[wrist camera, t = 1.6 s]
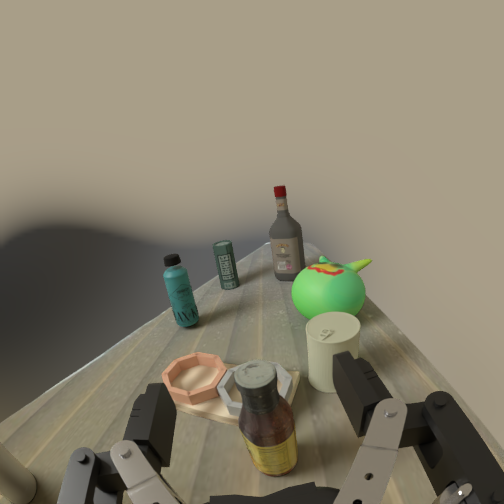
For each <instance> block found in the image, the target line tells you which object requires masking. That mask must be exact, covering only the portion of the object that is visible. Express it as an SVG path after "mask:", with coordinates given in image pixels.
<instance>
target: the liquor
mask: <svg viewBox="0 0 504 504" xmlns="http://www.w3.org/2000/svg"><path fill="white" fill-rule="evenodd" d="M274 193H275V197H276V204H277V212H278V214H277V219H276V220H275V222H274V223H273V225H272V227H271V228H270V231H269V235H270V242H271V249H272V256H273V263H274V270H275V276H276V278H277V279H279V280H280V281H294V280H295V278H296V277H297V275H298V274H299V273H300V272H301V271H302V270H303V269H305V258H304V249H303V239H302V230H301V226H300V224H299V223H298V222H296V221H295V220H294V219H293V218H292V217H291V216H290V214H289V212H288V205H287V199H286V188H285V186H277V187H274Z"/></svg>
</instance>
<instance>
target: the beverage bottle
mask: <svg viewBox="0 0 504 504" xmlns="http://www.w3.org/2000/svg"><path fill="white" fill-rule="evenodd" d="M180 262H181V260H180V257H179V255H178V254H171V255H168V256H165V257H164V264H165V266H173V267H170V268H168V269H167V270H166V271H165V273H164V275H163V277H164V280H165V283H166V287H167V291H168V295H169V299H170V302H171V305H172V306H171V307H172V309H173V310H172V311H173V312H174V316H175V319H176V320H175V321H176V322H177V324H178V325H179V326H182V327H186V326H191V325H193V324H195V323H196V322H197V321H198V319H199V316H198V315H199V314H198V310H197V306H196V305H195V301H194V297H193V293H192V289H191V286H190V282H189V278H188V273H187V269H186V268H184V267H182V266H174V265H177V264H179V263H180Z"/></svg>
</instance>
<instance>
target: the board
mask: <svg viewBox="0 0 504 504" xmlns="http://www.w3.org/2000/svg"><path fill="white" fill-rule="evenodd" d="M223 364H224V366H225V367H226V369H227V371H228V369H231V368H233V367H236V366H239V365H233V364H226V363H223ZM218 372H219V371H218V370H217V368H214V367H208V366H203V365H198V366H195V367H192V368H189V369H186V370H183V371H181V372H180V373H179V375H178V376H177V377H176V378H175V379H174V381H173V382H172V383H171V384H172V387H175V388H178V389H182V390H186V391H192V390H195V389H198V388H201V387H204V386H207V385H210V384H211V383H212V381H213V380H214V378H215V377H216V375H217V374H218ZM287 372H288V373H289V374H290V376H291V377H292V381H293V389H292V392H291V395H290V397H289V400H288V403H289V405H290V406H291V404H292V401H293V398H294V395H295V392H296V389H297V386H298V383H299V380H300V374H299V372H297V371H287ZM282 385H283V384H282V383H281V382H280V381H279V380H278V381H277V389H278V392H280V390H281V387H282ZM228 395H229V397H230V399H231V400H232V401H234V402H239V403H242V397H241V394H240V392H239V391H238V389H237V387H236V384H235V383H234V385H233V387H232V388H231V390H230V392H229V393H228ZM173 401H174V403H175V406H176V410H179V411H182V412H186V413H189V414H192V415H196V416H199V417H203V418H207V419H210V420H214V421H218V422H222V423H227V424H231V425H235V426H239V424H238V418H239V417H238V416H233V415H230V414H229V412H228V411H227V409H226V407H225V405H224V403H223V402H222V400H221V398H220V396H218V397H216V398H213V399H210V400H207V401H205V402H202V403H199V404H196V405H189V404H185V403H182V402H178V401H175V400H173Z"/></svg>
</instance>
